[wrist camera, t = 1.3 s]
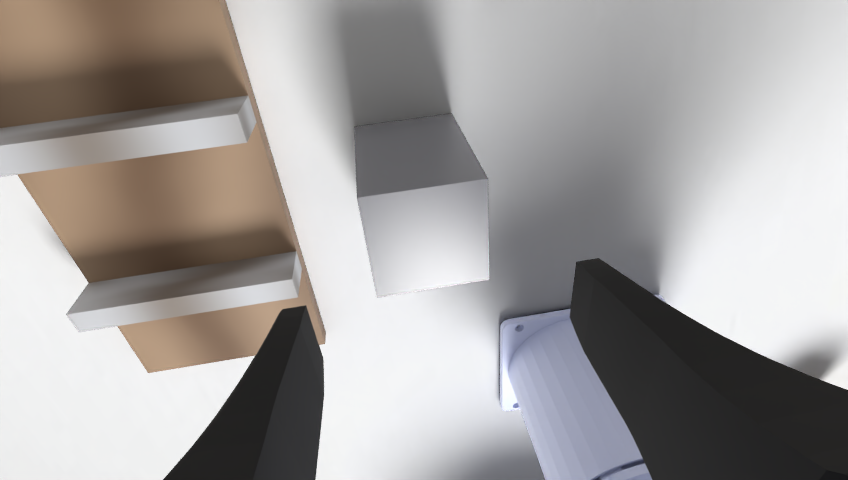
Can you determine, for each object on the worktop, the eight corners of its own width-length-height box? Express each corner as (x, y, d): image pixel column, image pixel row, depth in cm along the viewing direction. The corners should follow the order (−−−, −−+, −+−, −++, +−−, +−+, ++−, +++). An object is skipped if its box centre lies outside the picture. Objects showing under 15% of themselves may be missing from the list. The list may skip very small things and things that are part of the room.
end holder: (203, -72, 14) (176, -71, 12) (325, 332, 25) (323, 374, 22) (-100, -38, 14) (-188, -31, 12) (153, 360, 24) (133, 406, 22)
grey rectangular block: (451, 113, 19) (487, 178, 14) (456, 197, 21) (489, 279, 16) (354, 126, 19) (357, 197, 14) (369, 210, 21) (376, 297, 16)
